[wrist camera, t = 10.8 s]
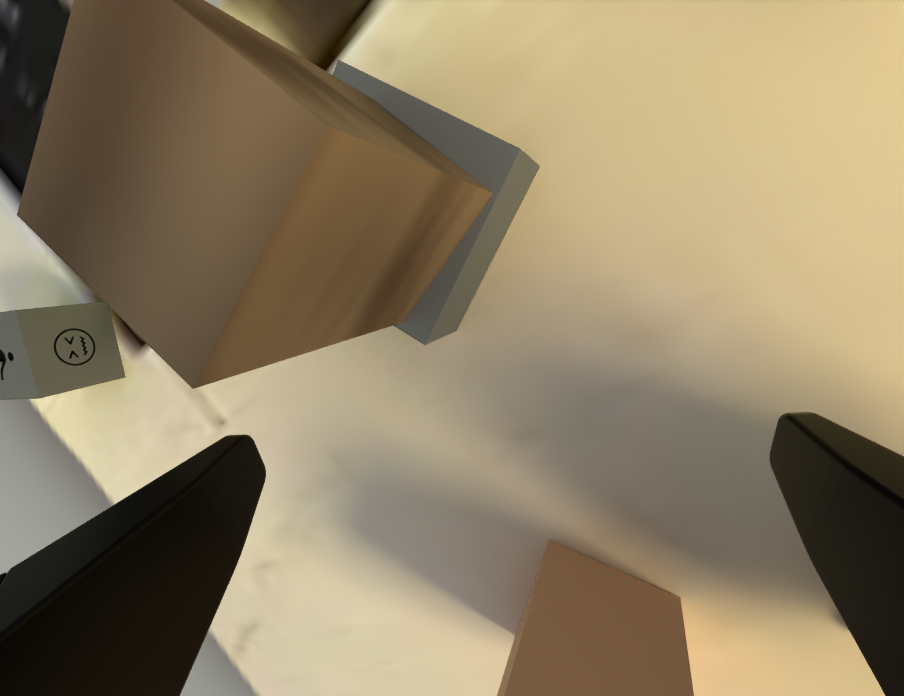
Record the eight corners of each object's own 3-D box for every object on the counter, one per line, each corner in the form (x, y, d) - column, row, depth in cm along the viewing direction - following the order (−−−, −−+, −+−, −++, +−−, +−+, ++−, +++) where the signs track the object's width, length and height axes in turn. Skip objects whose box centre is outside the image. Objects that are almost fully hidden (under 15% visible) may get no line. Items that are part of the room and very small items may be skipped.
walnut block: (493, 193, 17) (326, 125, 8) (404, 321, 19) (193, 388, 10) (371, 97, 18) (91, -66, 9) (300, 230, 20) (16, 215, 11)
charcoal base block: (541, 167, 20) (520, 149, 16) (458, 329, 23) (424, 344, 19) (388, 92, 22) (338, 59, 18) (328, 251, 24) (274, 251, 21)
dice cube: (60, 308, 32) (-35, 317, 28) (108, 301, 30) (15, 310, 26) (78, 379, 33) (-12, 400, 28) (126, 376, 31) (38, 398, 27)
